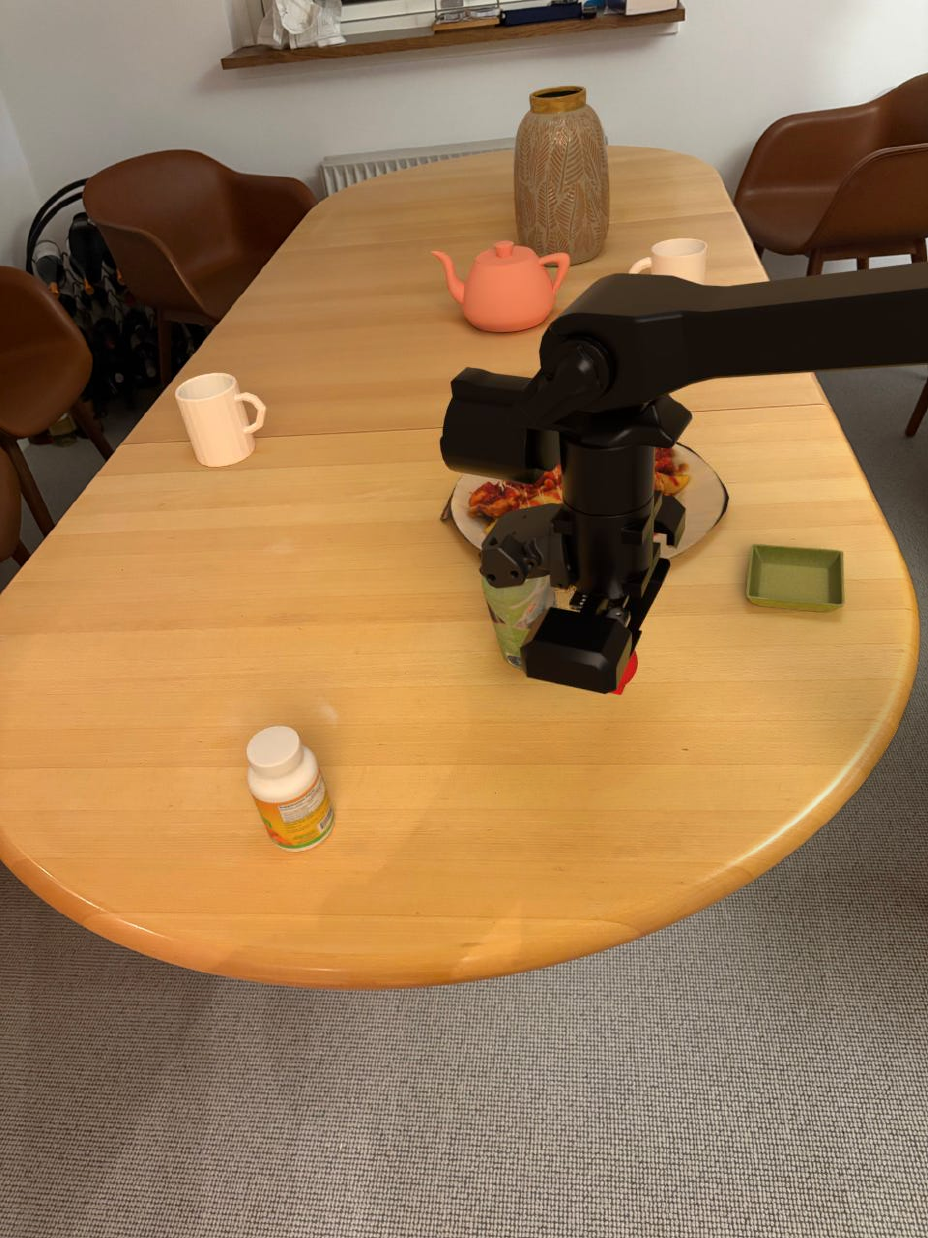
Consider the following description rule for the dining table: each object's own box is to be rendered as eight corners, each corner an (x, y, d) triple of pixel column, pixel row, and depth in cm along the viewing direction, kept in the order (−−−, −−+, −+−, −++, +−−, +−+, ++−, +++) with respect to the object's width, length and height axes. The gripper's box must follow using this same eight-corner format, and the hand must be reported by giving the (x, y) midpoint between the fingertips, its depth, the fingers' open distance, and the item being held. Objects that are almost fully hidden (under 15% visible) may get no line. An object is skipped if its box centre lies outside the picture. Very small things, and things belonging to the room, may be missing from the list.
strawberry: (644, 669, 66) (644, 627, 64) (629, 705, 64) (629, 663, 61) (593, 658, 68) (591, 617, 65) (576, 694, 65) (574, 652, 62)
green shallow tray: (841, 623, 82) (845, 606, 80) (743, 613, 84) (745, 596, 83) (840, 567, 88) (843, 550, 86) (748, 559, 90) (750, 542, 89)
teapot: (432, 342, 142) (421, 264, 134) (447, 306, 153) (437, 232, 145) (569, 334, 138) (566, 254, 130) (574, 298, 149) (571, 222, 141)
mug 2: (625, 326, 138) (625, 259, 131) (626, 306, 144) (626, 241, 138) (704, 323, 136) (708, 254, 129) (702, 302, 142) (706, 236, 135)
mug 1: (265, 470, 116) (245, 401, 110) (186, 466, 119) (162, 399, 113) (290, 439, 122) (273, 373, 116) (214, 436, 125) (193, 371, 119)
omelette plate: (627, 399, 118) (628, 350, 113) (778, 545, 93) (786, 490, 88) (407, 463, 113) (397, 415, 108) (502, 635, 88) (495, 583, 83)
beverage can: (576, 643, 84) (571, 540, 76) (539, 693, 79) (530, 589, 71) (518, 625, 87) (508, 524, 79) (479, 672, 82) (465, 570, 74)
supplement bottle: (262, 814, 72) (229, 734, 66) (325, 789, 73) (298, 708, 67) (278, 864, 68) (244, 784, 62) (344, 837, 69) (317, 756, 63)
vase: (586, 274, 157) (582, 103, 140) (502, 267, 165) (488, 104, 148) (624, 242, 168) (625, 79, 151) (543, 236, 176) (535, 81, 159)
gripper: (538, 410, 64) (551, 579, 74) (429, 557, 52) (461, 736, 62) (691, 424, 60) (683, 601, 70) (612, 588, 48) (615, 775, 58)
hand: (611, 671), depth 65 cm, fingers closed on strawberry, 4 cm apart
